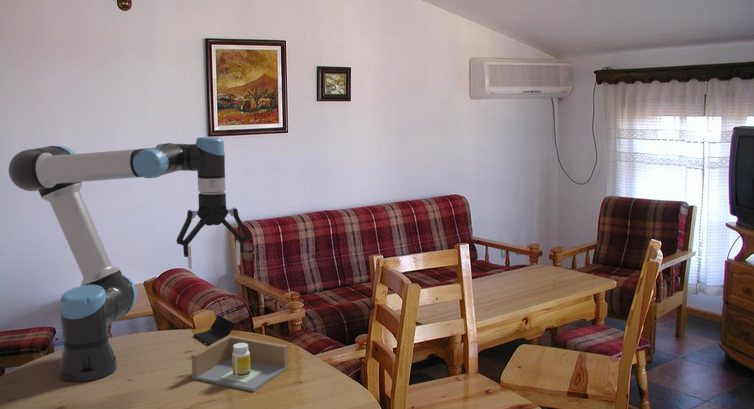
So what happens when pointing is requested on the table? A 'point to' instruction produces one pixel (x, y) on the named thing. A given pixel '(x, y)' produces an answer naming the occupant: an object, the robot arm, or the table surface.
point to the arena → (219, 368)
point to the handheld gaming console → (216, 331)
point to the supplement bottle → (241, 360)
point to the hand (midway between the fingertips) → (214, 265)
